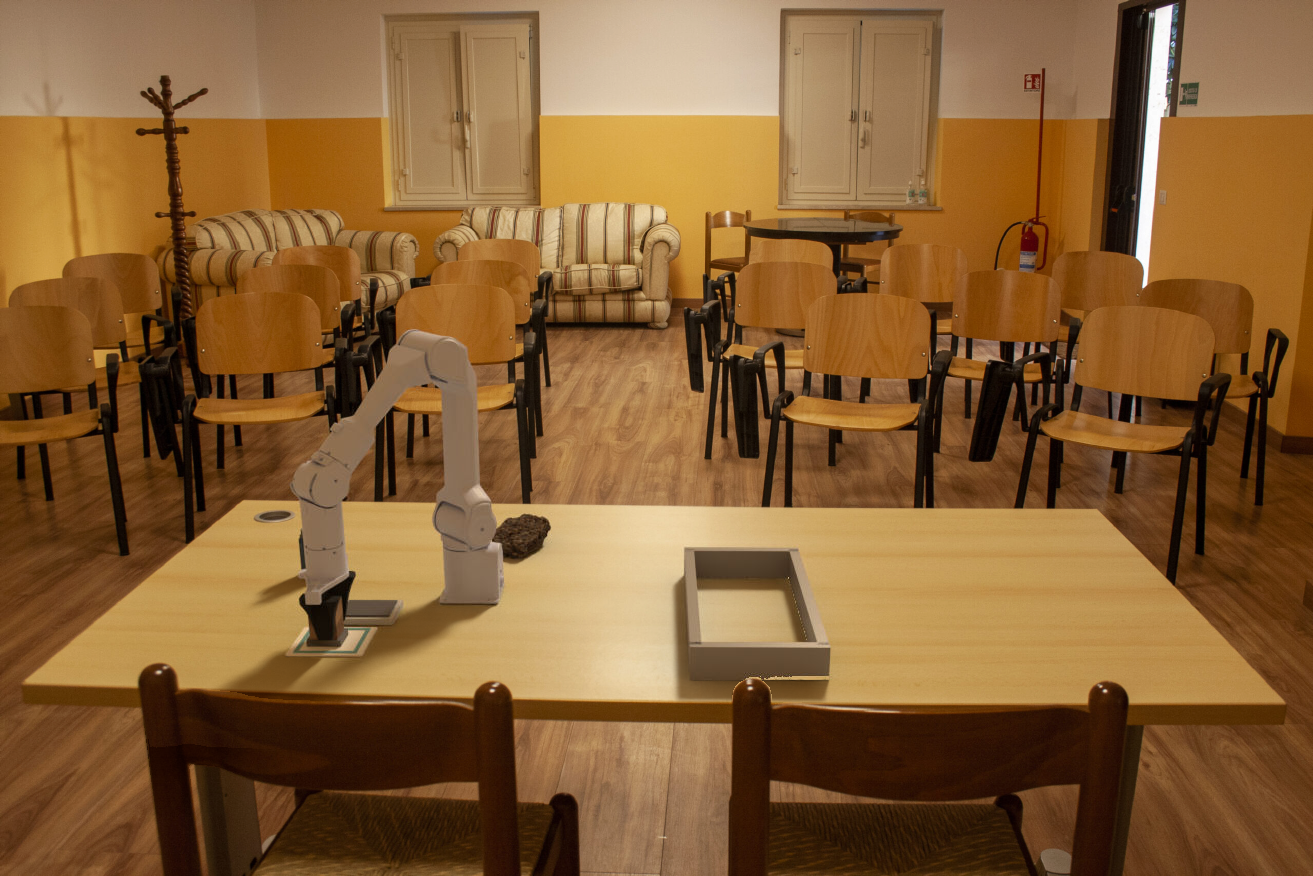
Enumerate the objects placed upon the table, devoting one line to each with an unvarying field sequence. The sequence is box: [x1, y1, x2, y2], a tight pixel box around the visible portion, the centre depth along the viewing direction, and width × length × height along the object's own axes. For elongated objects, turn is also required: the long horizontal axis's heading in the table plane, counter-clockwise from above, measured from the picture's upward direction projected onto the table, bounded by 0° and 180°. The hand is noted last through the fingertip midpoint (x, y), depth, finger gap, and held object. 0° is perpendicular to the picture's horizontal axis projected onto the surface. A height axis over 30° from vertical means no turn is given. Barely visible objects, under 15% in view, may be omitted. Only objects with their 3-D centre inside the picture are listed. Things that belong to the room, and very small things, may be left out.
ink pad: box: [344, 599, 404, 626], centre depth 171 cm, size 9×7×1 cm
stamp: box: [306, 597, 348, 647], centre depth 161 cm, size 5×4×6 cm
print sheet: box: [285, 626, 379, 658], centre depth 162 cm, size 11×9×1 cm
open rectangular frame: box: [683, 546, 832, 681], centre depth 169 cm, size 19×37×5 cm, turn 0°
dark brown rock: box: [491, 513, 552, 559], centre depth 199 cm, size 12×10×5 cm
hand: (331, 629), depth 162 cm, fingers open, 6 cm apart
